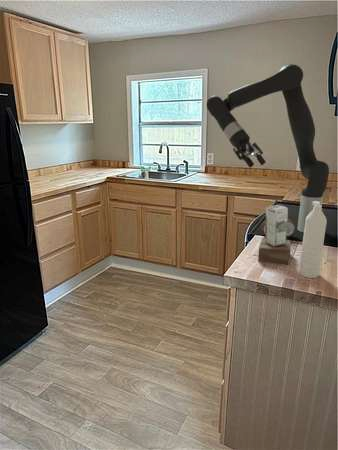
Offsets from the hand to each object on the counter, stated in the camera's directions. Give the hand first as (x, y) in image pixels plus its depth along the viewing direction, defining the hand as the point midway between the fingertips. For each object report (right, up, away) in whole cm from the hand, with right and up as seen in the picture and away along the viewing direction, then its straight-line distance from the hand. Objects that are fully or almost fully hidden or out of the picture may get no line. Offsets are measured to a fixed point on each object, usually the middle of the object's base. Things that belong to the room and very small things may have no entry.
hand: (258, 164), depth 133 cm
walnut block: (+5, -38, -5) cm, 38 cm away
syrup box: (+5, -32, -7) cm, 33 cm away
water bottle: (+13, -42, -18) cm, 47 cm away
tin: (+13, -30, +16) cm, 37 cm away
